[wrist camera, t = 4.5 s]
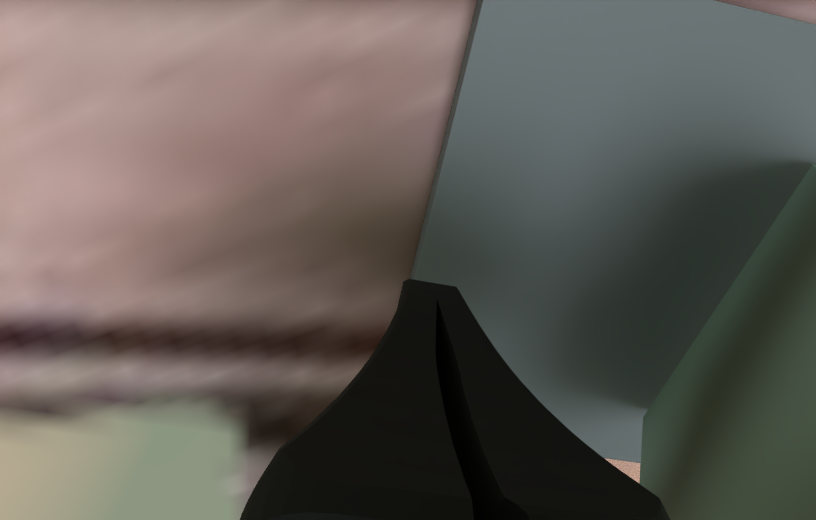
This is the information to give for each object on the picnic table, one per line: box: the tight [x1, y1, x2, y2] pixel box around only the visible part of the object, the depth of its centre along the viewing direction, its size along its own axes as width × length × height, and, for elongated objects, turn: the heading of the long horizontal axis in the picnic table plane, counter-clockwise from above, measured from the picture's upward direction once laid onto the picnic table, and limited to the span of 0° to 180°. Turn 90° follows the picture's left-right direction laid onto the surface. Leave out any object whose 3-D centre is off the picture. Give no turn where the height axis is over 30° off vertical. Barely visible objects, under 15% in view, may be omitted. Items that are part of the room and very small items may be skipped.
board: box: [410, 0, 816, 463], centre depth 16 cm, size 16×22×1 cm
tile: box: [640, 164, 816, 520], centre depth 12 cm, size 9×10×1 cm
